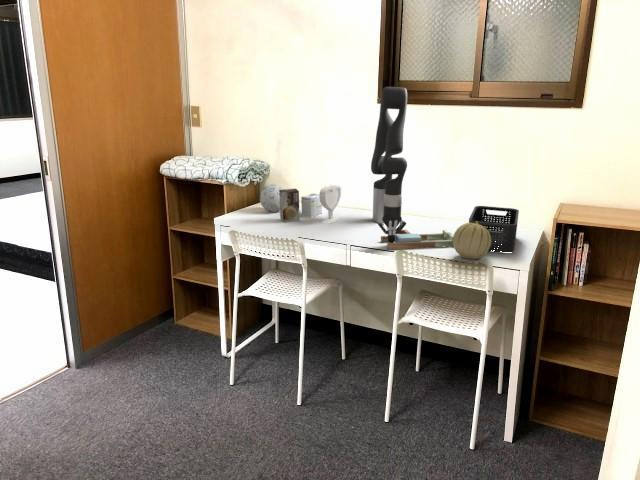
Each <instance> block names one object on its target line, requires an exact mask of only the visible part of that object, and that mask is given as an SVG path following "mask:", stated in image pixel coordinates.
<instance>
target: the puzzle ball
mask: <svg viewBox="0 0 640 480" xmlns="http://www.w3.org/2000/svg"><path fill="white" fill-rule="evenodd" d="M283 189H284V188H283V187H281V185H278V184H269V185H267V186H265V187H264V188H263V189H262V190H261V191H260V194H259V202H260V204H261V207H262V208H263V209H264V210H266V211H268V212H272V213H275V212H276V213H277V212H280V196H279V190H283Z"/></svg>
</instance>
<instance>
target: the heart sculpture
mask: <svg viewBox="0 0 640 480" xmlns="http://www.w3.org/2000/svg"><path fill="white" fill-rule="evenodd" d="M319 194H320V195H319V196H320V202H321V205H322V208H324V209H326V210H327V211H328V212H327V213H328V214H327V215H328V216H327V219H324V220H322V221H321V223H322V224H331V223H333V222H335V221H338V220H340V219H341V218H340V217H338V216H337V217H335V216H334V215H333V214H334V211H335V209H336V207H337V206H338V205H339V202H340V200H341V197H342V187H341V186H340V185H336V184H329V185H328V186H324V187H322V188H321V189H320V190H319Z"/></svg>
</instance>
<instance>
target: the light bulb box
mask: <svg viewBox="0 0 640 480" xmlns="http://www.w3.org/2000/svg"><path fill="white" fill-rule="evenodd" d="M319 195H320V193H310V194H305V195H303V196H301V197H300V199H301V200H300V201H301V216H302V217H307V218H313V217H317V216H319V215H322V214H323V206H322V205H321V202H320V196H319Z"/></svg>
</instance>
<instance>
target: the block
mask: <svg viewBox="0 0 640 480" xmlns="http://www.w3.org/2000/svg"><path fill="white" fill-rule="evenodd" d="M421 239H422V237H421V236H420V235H419V233H411V234H395V242H394V243H400V242H420V241H422V240H421Z"/></svg>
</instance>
